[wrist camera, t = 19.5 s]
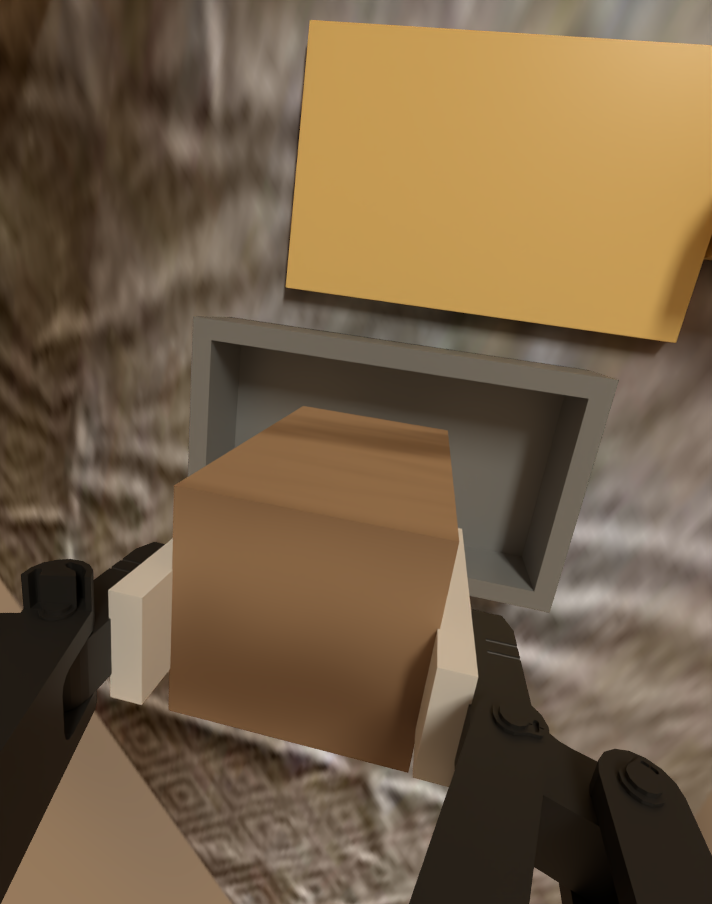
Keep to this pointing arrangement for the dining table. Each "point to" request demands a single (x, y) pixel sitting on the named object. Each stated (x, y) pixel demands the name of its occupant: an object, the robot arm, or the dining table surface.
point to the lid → (505, 175)
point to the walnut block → (314, 582)
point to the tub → (431, 405)
